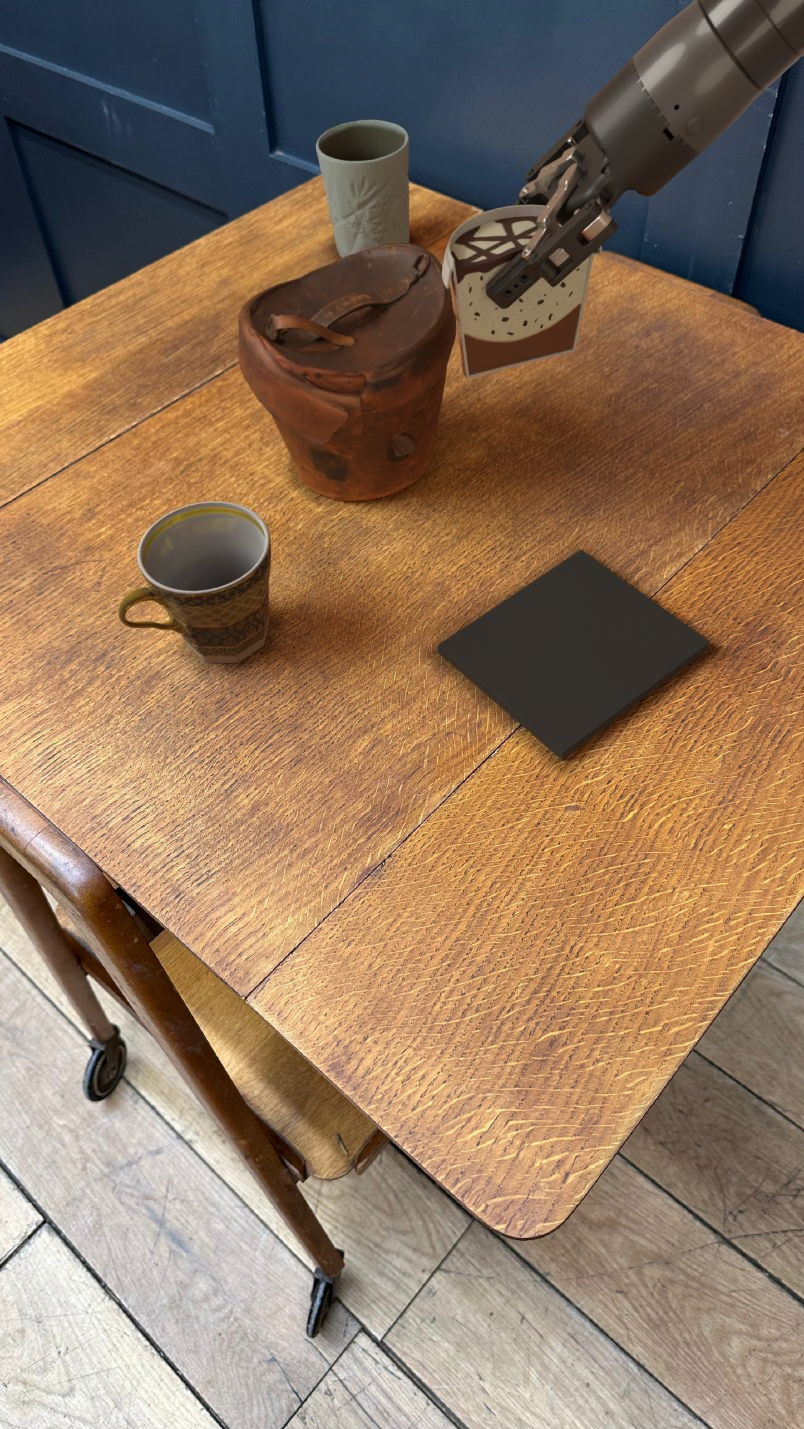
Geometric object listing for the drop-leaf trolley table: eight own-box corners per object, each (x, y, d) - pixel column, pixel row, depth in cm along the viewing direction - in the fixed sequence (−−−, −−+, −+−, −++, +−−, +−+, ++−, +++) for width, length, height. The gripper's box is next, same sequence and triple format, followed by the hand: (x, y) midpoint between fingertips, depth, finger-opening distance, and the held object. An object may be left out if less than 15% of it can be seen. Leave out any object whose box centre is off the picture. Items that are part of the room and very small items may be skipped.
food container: (560, 308, 86) (569, 187, 79) (592, 347, 83) (604, 224, 75) (422, 342, 84) (417, 222, 77) (449, 383, 81) (446, 261, 73)
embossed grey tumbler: (419, 263, 118) (414, 155, 108) (332, 274, 118) (319, 166, 108) (407, 220, 124) (401, 113, 115) (324, 230, 124) (311, 124, 114)
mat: (580, 557, 88) (581, 549, 87) (708, 649, 81) (710, 641, 80) (437, 652, 82) (437, 644, 81) (562, 760, 75) (563, 752, 75)
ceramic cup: (242, 573, 89) (219, 482, 81) (313, 635, 84) (297, 545, 76) (114, 652, 84) (76, 564, 76) (182, 723, 79) (150, 637, 71)
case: (225, 504, 94) (181, 329, 80) (325, 381, 105) (302, 207, 91) (400, 555, 89) (387, 376, 75) (487, 420, 100) (490, 241, 86)
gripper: (628, 16, 71) (460, 192, 81) (646, 105, 62) (456, 290, 72) (693, 97, 75) (525, 255, 85) (720, 191, 66) (529, 356, 76)
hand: (494, 271), depth 78 cm, fingers closed on food container, 7 cm apart
